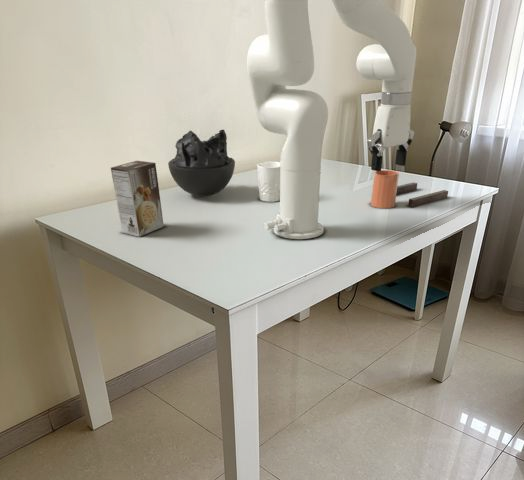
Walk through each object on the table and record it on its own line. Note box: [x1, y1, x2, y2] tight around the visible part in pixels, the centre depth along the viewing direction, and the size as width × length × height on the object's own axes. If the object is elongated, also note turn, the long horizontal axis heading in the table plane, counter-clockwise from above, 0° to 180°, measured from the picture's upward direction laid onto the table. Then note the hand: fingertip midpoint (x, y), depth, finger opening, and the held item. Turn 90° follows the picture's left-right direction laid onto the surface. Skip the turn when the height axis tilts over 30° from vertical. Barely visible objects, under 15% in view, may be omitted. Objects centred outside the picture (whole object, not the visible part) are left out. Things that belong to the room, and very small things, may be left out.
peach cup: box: [370, 169, 400, 209], centre depth 141 cm, size 7×7×9 cm
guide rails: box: [396, 181, 449, 208], centre depth 149 cm, size 16×13×2 cm
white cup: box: [256, 161, 280, 203], centre depth 147 cm, size 8×8×10 cm
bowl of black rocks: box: [167, 129, 236, 197], centre depth 149 cm, size 20×20×19 cm
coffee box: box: [110, 160, 165, 237], centre depth 123 cm, size 9×6×16 cm
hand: (388, 167), depth 138 cm, fingers open, 9 cm apart
